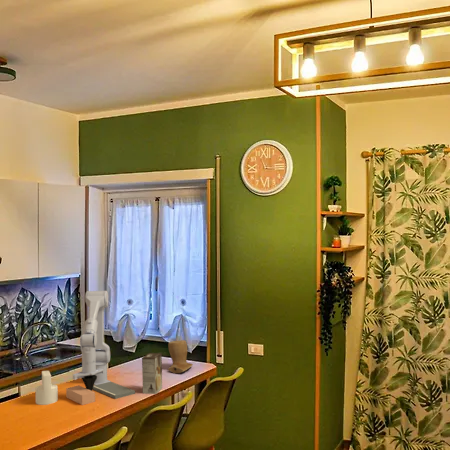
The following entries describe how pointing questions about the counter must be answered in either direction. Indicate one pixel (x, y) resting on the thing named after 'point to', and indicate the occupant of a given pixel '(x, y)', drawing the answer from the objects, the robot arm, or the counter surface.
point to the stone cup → (178, 356)
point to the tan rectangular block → (80, 395)
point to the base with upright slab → (46, 390)
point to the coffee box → (152, 373)
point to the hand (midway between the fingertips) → (89, 392)
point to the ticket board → (113, 390)
